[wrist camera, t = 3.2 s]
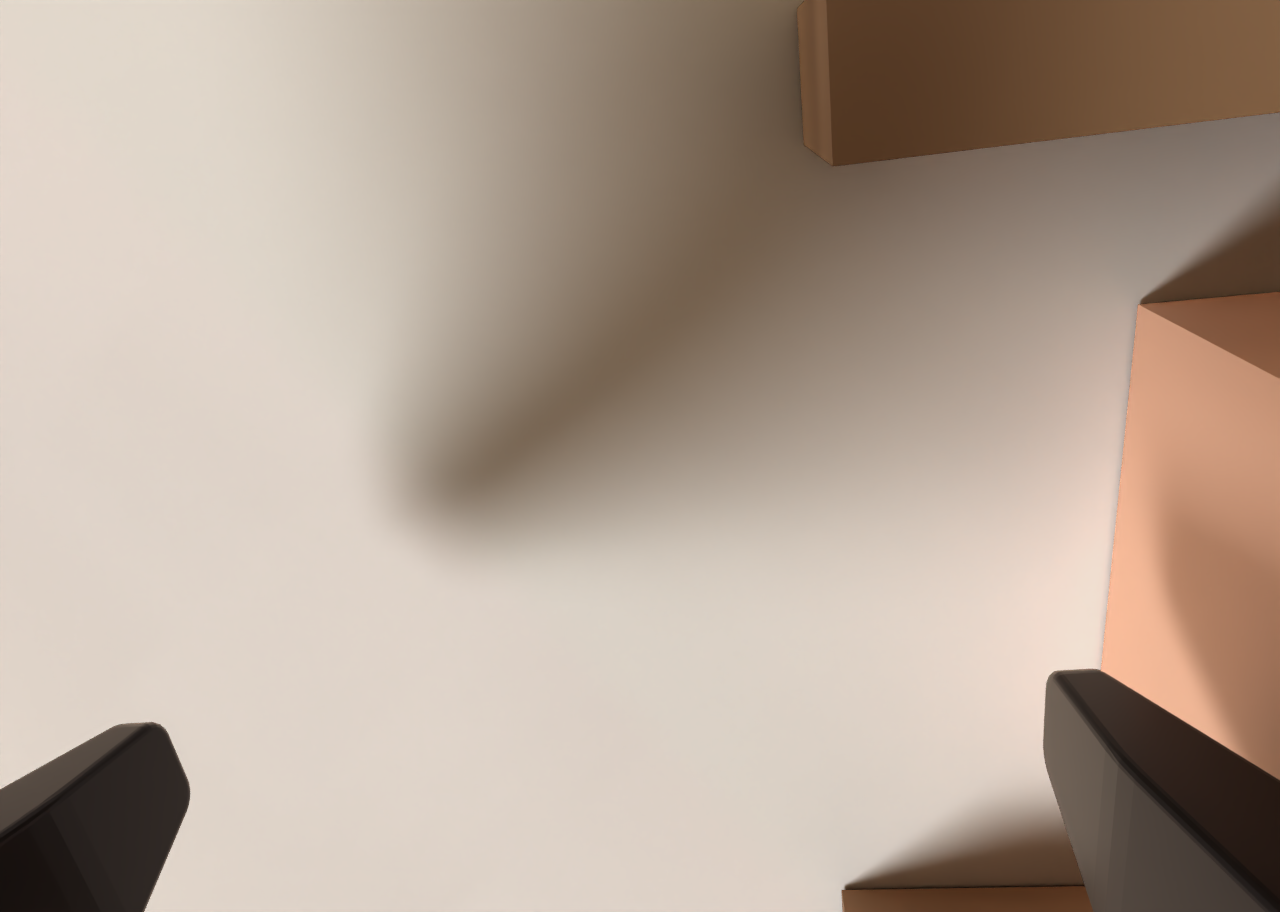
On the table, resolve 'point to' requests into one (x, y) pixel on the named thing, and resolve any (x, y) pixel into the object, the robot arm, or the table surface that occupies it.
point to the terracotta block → (1202, 521)
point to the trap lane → (1020, 137)
